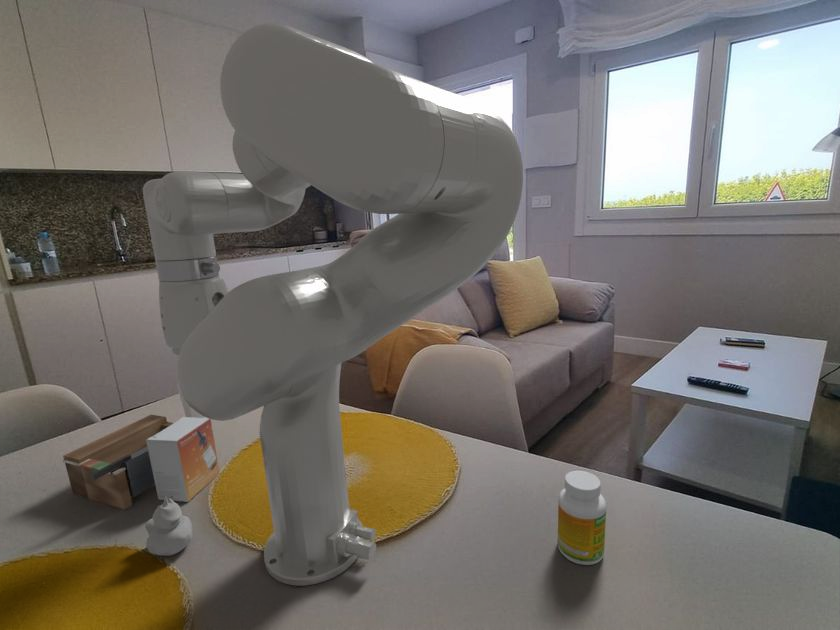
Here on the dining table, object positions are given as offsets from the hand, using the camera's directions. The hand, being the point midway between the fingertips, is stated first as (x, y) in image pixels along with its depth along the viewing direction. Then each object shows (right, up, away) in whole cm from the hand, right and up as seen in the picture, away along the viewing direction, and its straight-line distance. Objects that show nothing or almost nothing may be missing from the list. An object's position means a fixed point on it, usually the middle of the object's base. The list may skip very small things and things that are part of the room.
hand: (209, 393), depth 64 cm
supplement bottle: (+51, -17, -11) cm, 55 cm away
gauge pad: (-13, -16, +7) cm, 22 cm away
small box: (-6, -17, +7) cm, 19 cm away
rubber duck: (-2, -20, -7) cm, 21 cm away
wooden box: (-17, -16, +11) cm, 26 cm away
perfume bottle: (-13, -13, +23) cm, 29 cm away
